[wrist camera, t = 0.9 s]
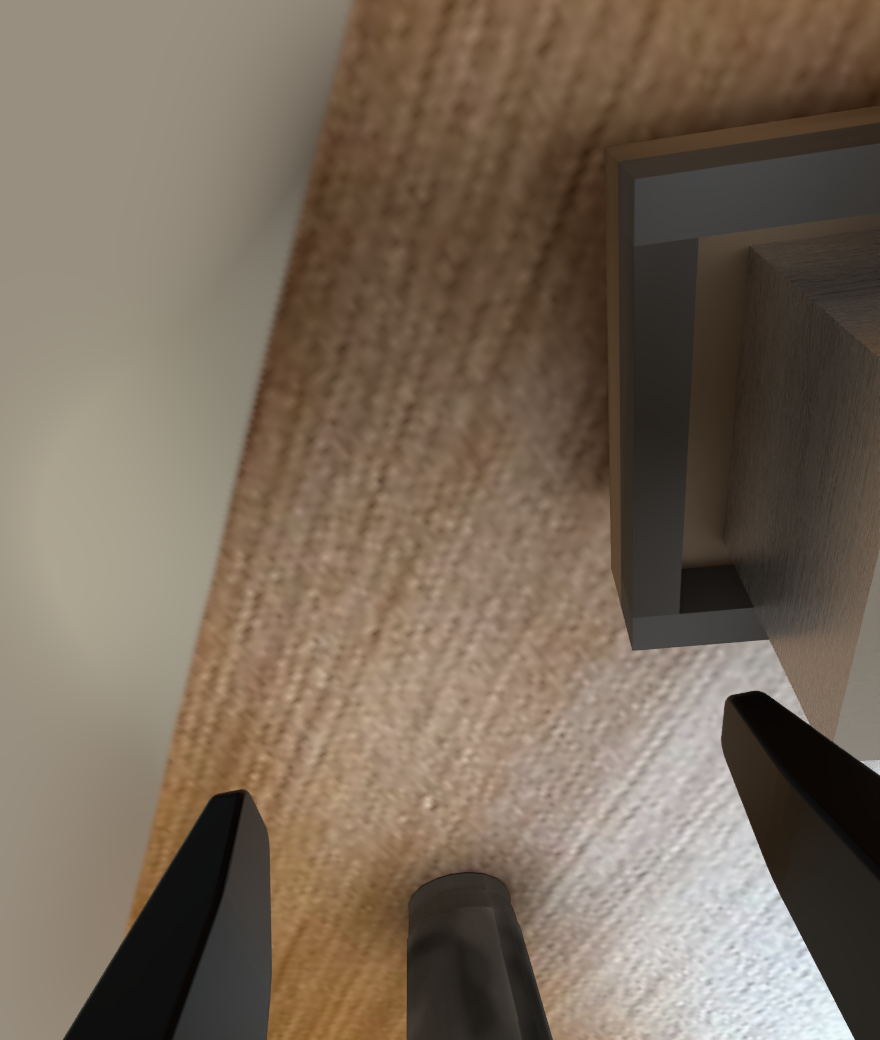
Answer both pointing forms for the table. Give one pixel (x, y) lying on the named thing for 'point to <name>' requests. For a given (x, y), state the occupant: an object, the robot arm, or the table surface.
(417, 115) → the table surface
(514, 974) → the beverage cup
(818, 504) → the steel rider
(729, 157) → the grey tray
